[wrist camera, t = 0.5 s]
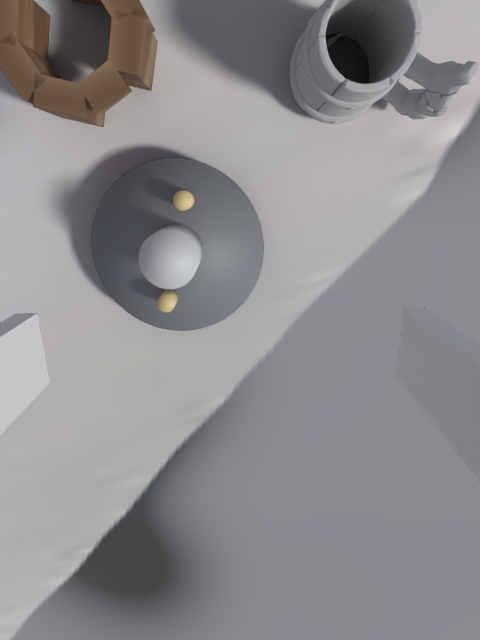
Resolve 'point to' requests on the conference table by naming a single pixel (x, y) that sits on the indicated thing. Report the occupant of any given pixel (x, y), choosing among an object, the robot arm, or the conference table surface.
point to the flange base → (207, 218)
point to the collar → (96, 89)
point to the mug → (372, 63)
